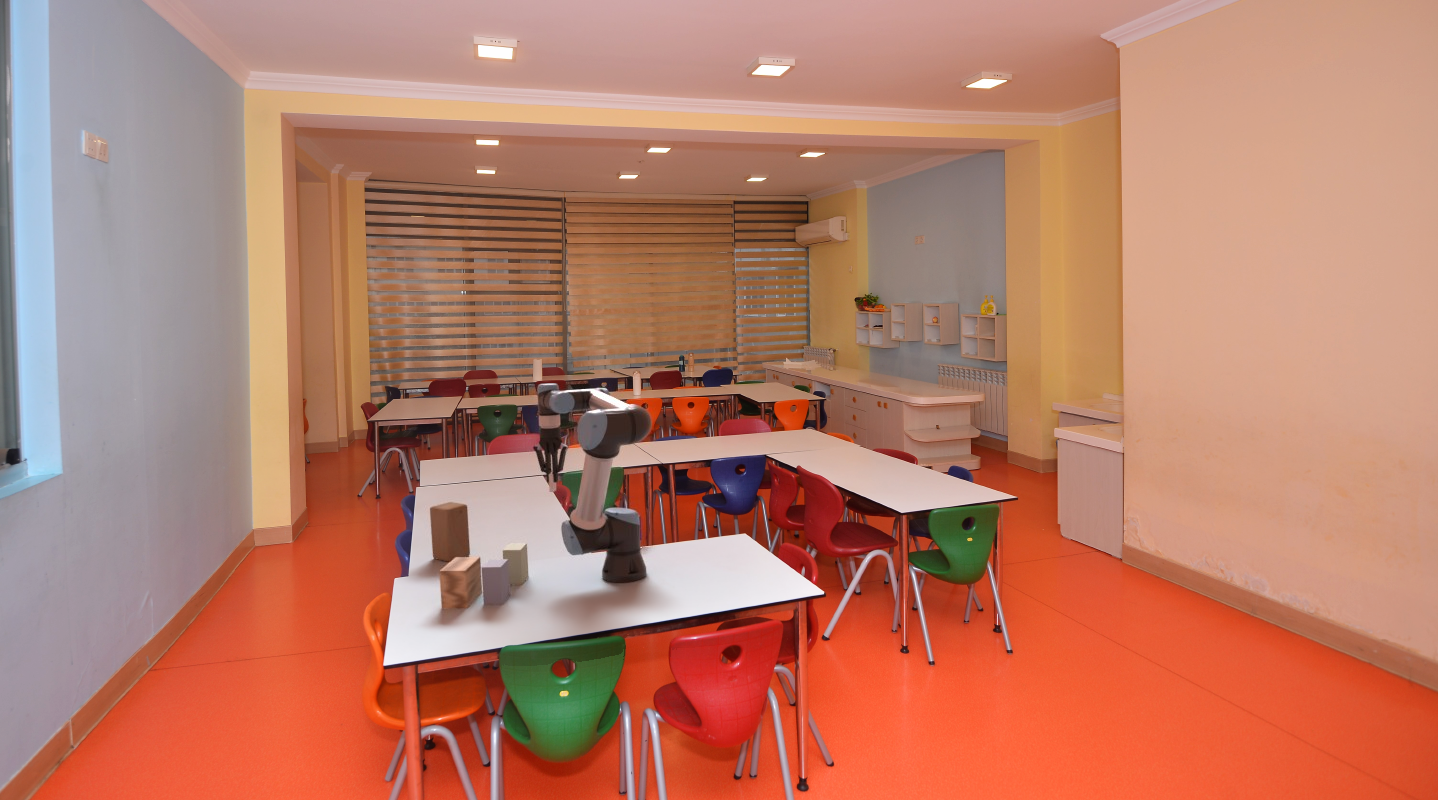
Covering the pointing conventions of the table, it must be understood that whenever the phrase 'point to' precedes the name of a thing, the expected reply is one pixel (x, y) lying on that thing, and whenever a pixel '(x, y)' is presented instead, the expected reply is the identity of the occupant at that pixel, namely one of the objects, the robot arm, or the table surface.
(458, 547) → the wooden block
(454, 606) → the oak block
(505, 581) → the lavender block
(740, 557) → the table surface
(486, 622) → the table surface
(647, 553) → the table surface
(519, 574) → the beige block
